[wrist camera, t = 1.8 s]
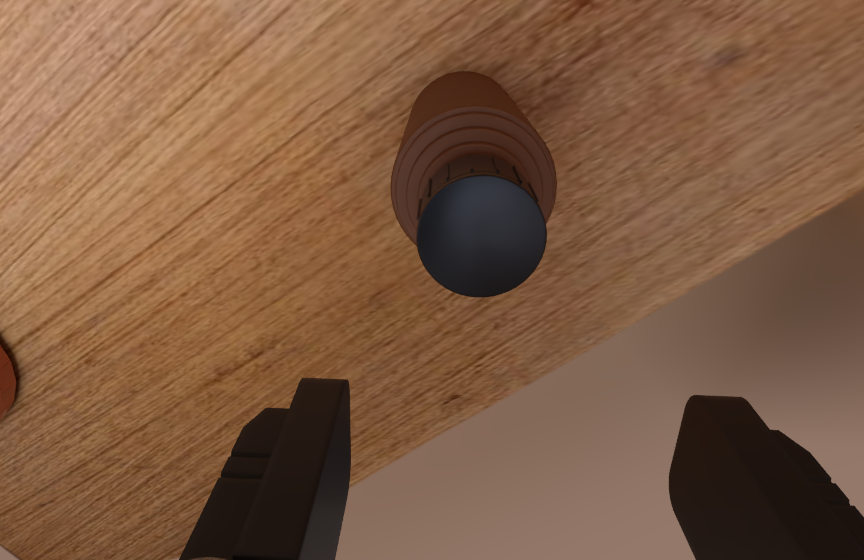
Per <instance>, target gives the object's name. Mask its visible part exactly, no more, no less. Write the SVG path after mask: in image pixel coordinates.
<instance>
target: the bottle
mask: <svg viewBox="0 0 864 560" xmlns="http://www.w3.org/2000/svg"><path fill="white" fill-rule="evenodd" d="M469 154H471V155H486V156H491V157H492V155H493V156H495V157H496V158H498V159H501V160H504V161H505V162H507V163H509V164H511V165H512V166H513V165H515V166H516V168H517V170H518V171H519V172H520V173H521V174H522V175H523V176H524V178H525V179H526V181H527V182H530V184H531V186H532V188H533V190H534V192H535V194H536V196H537V198H538V200H539V201H538V204H539V206H540V208H541V210H542V213H543V215H544V218H545V222H546V223H547V221H548V219H549V217H550V215H551V212H552V209H553V206H554V202H555V197H556V188H557V180H556V171H555V166H554V162H553V159H552V156H551V154H550V151H549V149H548V148H547V146H546V144H545V142H544V141H543V139H542V138H541V137H540V135H539V134H538V133H537V131H536V130H535V129H534V127H533V126H532V125H531V124H530V122H529V121H528V120H527V118H526V117H525V116H524V115H523V113H522V112H521V111H520V110H519V108H518V107H517V106H516V104H515V103H514V102H513V101H512V99H511V98H510V97H509V95H508V94H507V93H506V92H505V90H504V89H503V88H502V87H501V86H500V85H499V84H497V83H496V82H495V81H494V80H492V79H490V78H488V77H487V76H484V75H482V74H478V73H474V72H454V73H450V74H446V75H444V76H442V77H439V78H437V79H436V80H434V81H433V82H431V83H430V84H429V85H428V86H427V87H426V88H425V89H424V90H423V91H422V92H421V93H420V95H419V96H418V98H417V99H416V101H415V103H414V105H413V108H412V111H411V114H410V117H409V120H408V123H407V126H406V129H405V132H404V135H403V139H402V142H401V145H400V148H399V151H398V154H397V157H396V160H395V163H394V167H393V171H392V176H391V199H392V204H393V209H394V212H395V215H396V218H397V220H398V222H399V224H400V226H401V228H402V229H403V231H404V232H405V234H406V235H407V236H408V237H409V239H410V240H411V241H412V242H413V243H414V244H415V245H416V246H417V243H416V235H417V226H418V219H417V212H418V204H419V198H420V199H421V198H422V194H423V192H424V189H425V187H426V185H427V184H428V179H429V178H432V176H433V175H434V174H435V173H436V172H437V171H438V170H439V169H441V168H442V167H443V166H445V165H446V163H447V162H448V163H450V162H451V161H454V160H456V159H458V158H462V157H465V156H468V155H469Z"/></svg>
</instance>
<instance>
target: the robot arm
mask: <svg viewBox="0 0 864 560" xmlns="http://www.w3.org/2000/svg"><path fill="white" fill-rule="evenodd" d="M350 467H351V439H350V389H349V382H348V380H345V379H321V378H302V379H301V380H300V382H299V385H298V387H297V390H296V393H295V395H294V398H293V400H292V403H291V405H290V408H289V409H284V408H265V409H264V410H263V411H262V412H261V413H259V414H258V415H257V416H256V417H255V418H254V419H252V420H251V421H250V422H249V423H248V424H247V425H245V426H244V427H243V429H242V431H241V433H240V435H239V437H238V439H237V441H236V443H235V445H234V447H233V449H232V451H231V457H228V460H227V462H226V464H225V466H224V468H223V470H222V472H221V478H218V480H217V482H216V484H215V486H214V489H213V491H212V493H211V495H210V497H209V499H208V501H207V503H206V505H205V507H204V509H203V511H202V513H201V515H200V518H199V520H198V522H197V524H196V526H195V528H194V530H193V532H192V534H191V536H190V538H189V540H188V542H187V544H186V547H185V549H184V551H183V553H182V555H181V557H180V559H179V560H335V556H336V551H337V546H338V541H339V536H340V531H341V526H342V521H343V516H344V511H345V506H346V501H347V495H348V489H349V481H350ZM669 494H670V500H671V504H672V507H673V510H674V513H675V515H676V517H677V520H678V522H679V524H680V526H681V528H682V530H683V533H684V535H685V537H686V539H687V541H688V543H689V546H690V548H691V550H692V552H693V554H694V556H695V559H696V560H864V517H863V516H862V515H861V514H860V512H859V511H858V510H857V509H856V507H855V506H850V504H849V499H848V498H847V497H846V495H845V494H844V493H843V492H842V491H841V490H840V488H839V487H838V486H837V485H836V484H835V483H832V482H831V477H830V476H829V475H828V474H827V473H826V471H825V470H824V469H823V468H822V467H821V465H820V464H819V463H818V462H817V461H816V459H815V458H814V457H813V456H812V454H811V453H810V452H808V451H807V450H805V449H804V448H803V447H801V446H800V445H799V444H797V443H795V442H794V441H793V440H791V439H790V438H789V437H787V436H786V435H785V434H783V433H782V432H780V431H779V430H770V429H769V428H768V427H767V426H766V424H765V423H764V422H763V420H762V419H761V418H760V416H759V415H758V414H757V413H756V411H755V410H754V409H753V407H752V406H751V405H750V404H749V402H748V401H747V400H745V399H744V398H742V397H728V396H704V395H693V396H691V397H690V398H689V400H688V401H687V403H686V406H685V410H684V414H683V418H682V422H681V427H680V431H679V435H678V439H677V443H676V447H675V451H674V455H673V460H672V464H671V468H670V473H669Z"/></svg>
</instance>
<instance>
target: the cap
mask: <svg viewBox="0 0 864 560" xmlns="http://www.w3.org/2000/svg"><path fill="white" fill-rule="evenodd" d="M538 201H539V200H538V198H537V196H536V194H535V192H534V190H533V188H532V186H531V184H530V182H527V181H526V179H525V178H524V176H523V175H522V174H521V173H520V172H519V171H518V170H517V168H516V166H515V165H513V166H512V165H511V164H509V163H507V162H505V161H504V160H501V159H498V158H496V157H495V156H493V155H492V157H491V156H486V155H471V154H469V155H468V156H465V157H462V158H458V159H456V160H454V161H451V162H450V163H448V162H447V163H446V165H445V166H443V167H442V168H441V169H439V170H438V171H437V172H436V173H435V174H434V175H433V176H432V178H429V179H428V184H427V185H426V187H425V189H424V192H423V194H422V198H421V199H420V198H419V204H418V212H417V219H418V226H417V235H416V243H417V248H418V253H419V256H420V259H421V261H422V263H423V265H424V267H425V268H426V270H427V271H428V273H429V274H430V275H431V276H432V277H433V278H434V279H435V280H436V281H437V282H438V283H439V284H440V285H442V286H443V287H445V288H447V289H448V290H450V291H452V292H455V293H458V294H460V295H464V296H469V297H490V296H496V295H500V294H503V293H505V292H508V291H510V290H512V289H514V288H516V287H517V286H519V285H520V284H521V283H523V282H524V281H525V280H526V279H527V278H528V277H529V276H530V275H531V274H532V273H533V272H534V270H535V269H536V267H537V266H538V264H539V263H540V261H541V258H542V256H543V253H544V250H545V246H546V239H547V230H546V222H545V218H544V215H543V213H542V210H541V208H540V206H539V204H538Z"/></svg>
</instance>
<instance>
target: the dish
mask: <svg viewBox="0 0 864 560" xmlns="http://www.w3.org/2000/svg"><path fill="white" fill-rule="evenodd" d="M15 388H16V378H15V374H14V371H13V367H12V363H11V361H10V359H9V357H8V356H7V354H6V353H5V351H4V349H3V348H2V346H1V345H0V421H1V420H2V419H3V418H4V417H5V416H6V414H7V412H8V411H9V409H10V407H11V406H12V404H13V402H14V397H15Z"/></svg>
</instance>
